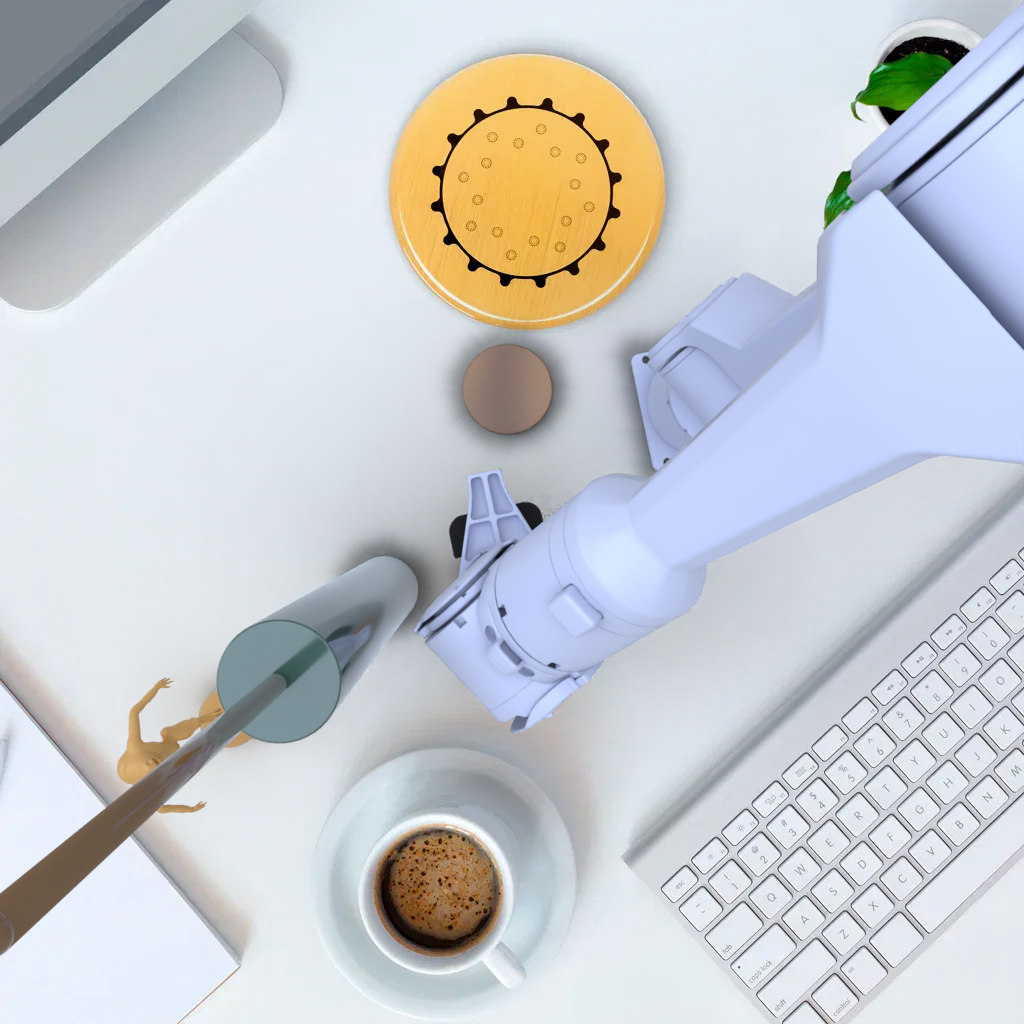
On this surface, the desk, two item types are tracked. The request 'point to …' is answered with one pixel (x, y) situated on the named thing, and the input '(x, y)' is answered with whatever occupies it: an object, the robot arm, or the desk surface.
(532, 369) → the coaster
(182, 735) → the figurine
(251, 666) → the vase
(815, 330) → the robot arm
